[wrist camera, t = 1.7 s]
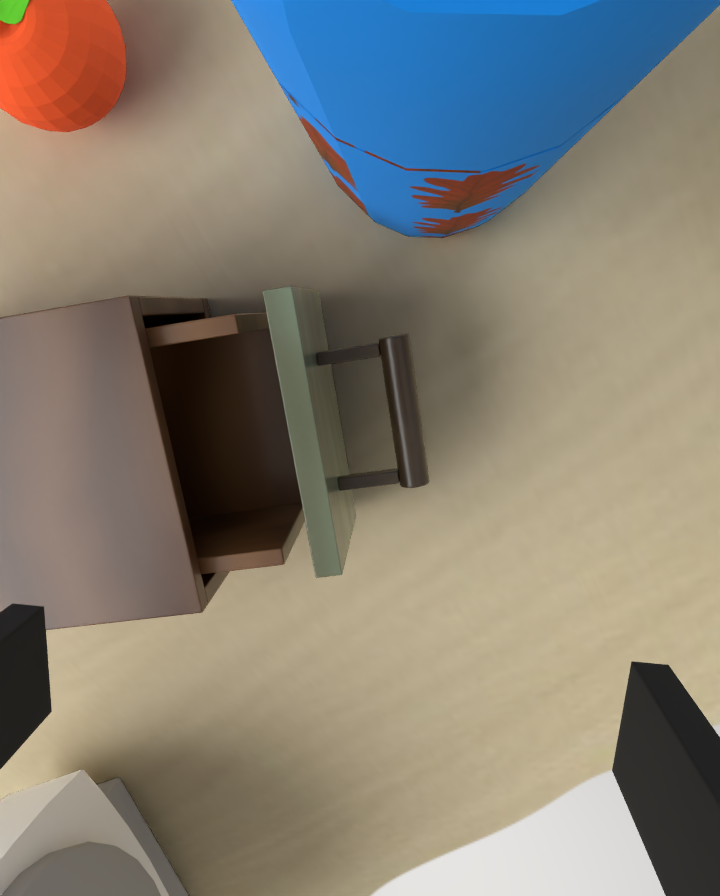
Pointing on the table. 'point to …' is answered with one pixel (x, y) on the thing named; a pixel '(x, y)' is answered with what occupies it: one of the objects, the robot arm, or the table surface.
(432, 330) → the table surface
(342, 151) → the thermos
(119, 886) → the alarm clock
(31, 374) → the cabinet
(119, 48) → the clementine
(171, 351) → the drawer
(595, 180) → the table surface
